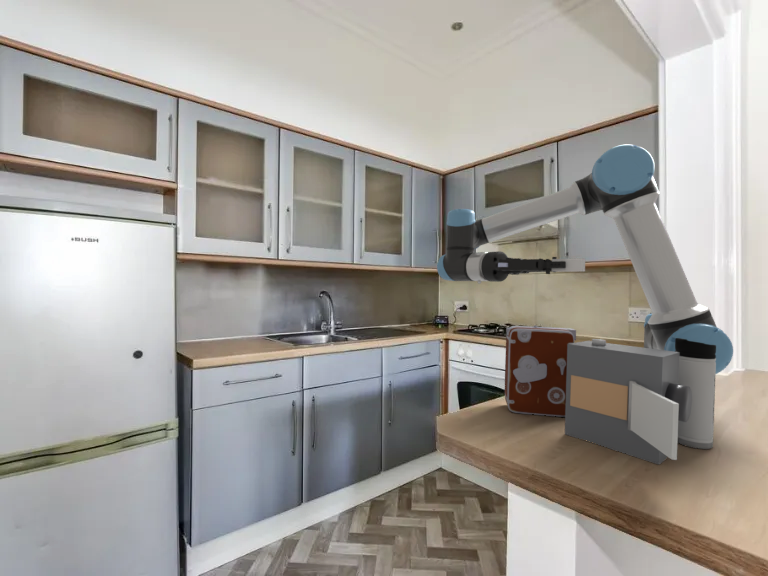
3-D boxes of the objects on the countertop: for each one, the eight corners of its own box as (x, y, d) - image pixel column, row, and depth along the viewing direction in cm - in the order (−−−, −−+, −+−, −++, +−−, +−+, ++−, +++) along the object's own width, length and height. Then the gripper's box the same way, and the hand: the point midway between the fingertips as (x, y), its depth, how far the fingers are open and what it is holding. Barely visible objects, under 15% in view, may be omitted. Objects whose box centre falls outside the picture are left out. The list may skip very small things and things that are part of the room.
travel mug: (661, 436, 78) (665, 336, 77) (692, 436, 78) (696, 336, 78) (688, 449, 71) (692, 341, 71) (722, 449, 72) (726, 341, 72)
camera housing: (692, 456, 69) (696, 348, 69) (676, 470, 63) (680, 353, 63) (585, 424, 83) (588, 335, 83) (564, 434, 77) (567, 338, 77)
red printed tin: (600, 423, 85) (603, 331, 84) (506, 414, 88) (509, 326, 88) (587, 409, 94) (589, 326, 93) (502, 402, 97) (505, 323, 97)
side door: (626, 428, 68) (628, 380, 68) (632, 429, 68) (634, 381, 68) (670, 460, 56) (672, 402, 56) (677, 461, 56) (679, 402, 55)
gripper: (503, 282, 104) (596, 283, 85) (472, 280, 95) (567, 282, 77) (504, 253, 103) (597, 249, 85) (473, 250, 95) (568, 244, 77)
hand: (583, 264), depth 81 cm, fingers closed
